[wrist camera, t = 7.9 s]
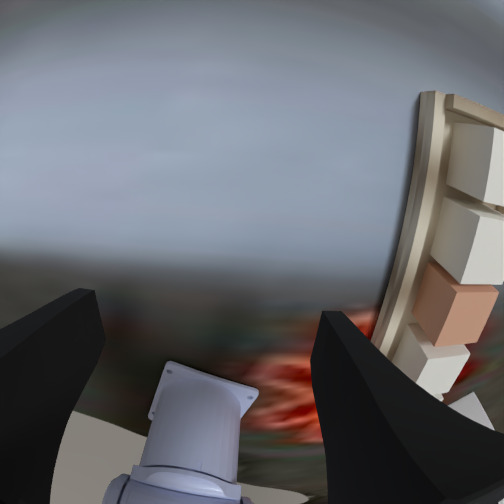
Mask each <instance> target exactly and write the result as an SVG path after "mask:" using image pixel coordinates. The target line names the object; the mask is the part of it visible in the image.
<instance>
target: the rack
mask: <svg viewBox="0 0 504 504" xmlns="http://www.w3.org/2000/svg"><path fill="white" fill-rule="evenodd" d="M454 122H457V123H466V124H474V125H482V126H488V127H495V128H497V129H499V130H502V131H504V115H502V114H500V113H498V112H496V111H494V110H492V109H489V108H487V107H485V106H483V105H480V104H478V103H476V102H473V101H471V100H468V99H466V98H463V97H461V96H458V95H455V94H444V93H441V92H438V91H425V92H421V96H420V111H419V123H418V133H417V142H416V151H415V158H414V166H413V172H412V179H411V185H410V191H409V197H408V202H407V207H406V213H405V218H404V222H403V227H402V232H401V236H400V241H399V245H398V249H397V253H396V257H395V261H394V265H393V269H392V273H391V277H390V280H389V284H388V287H387V291H386V294H385V298H384V301H383V304H382V308H381V311H380V314H379V317H378V320H377V323H376V326H375V329H374V332H373V335H372V338H371V342H372V343H373V344H374V345H375V346H376V347H377V348H378V349H379V350H380V351H381V352H382V353H383V354H384V355H385V356H386V357H387V358H388V359H389V360H390V361H391V362H392V360H393V357H394V355H395V353H396V350H397V348H398V346H399V343H400V341H401V338H402V336H403V333H404V331H405V328H406V325H407V324H413V323H418V321H417V320H416V318H415V317H414V315H413V314H412V309H413V306H414V303H415V300H416V297H417V295H418V291H419V288H420V285H421V282H422V279H423V276H424V272H425V269H426V266H427V262H435V263H438V262H437V261H436V260H435V259H434V258H433V257H432V256H431V255H430V252H431V248H432V244H433V241H434V237H435V233H436V228H437V224H438V220H439V215H440V211H441V206H442V201H443V196H445V197H450V198H455V199H461V200H466V201H470V202H475V203H480V204H484V205H487V206H489V207H490V208H492V209H494V210H496V211H498V212H500V213H502V214H504V206H500V205H495V204H491V203H487V202H483V201H481V200H479V199H477V198H475V197H473V196H471V195H469V194H467V193H464V192H462V191H460V190H458V189H456V188H454V187H451V186H449V185H447V184H446V180H447V173H448V167H449V160H450V153H451V145H452V136H453V126H454Z"/></svg>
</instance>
